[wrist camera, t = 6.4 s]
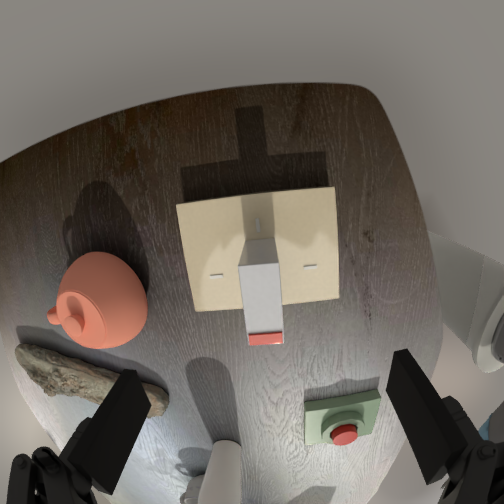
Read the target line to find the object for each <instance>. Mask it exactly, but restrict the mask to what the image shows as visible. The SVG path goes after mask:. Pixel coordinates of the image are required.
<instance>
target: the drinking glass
mask: <svg viewBox="0 0 504 504" xmlns="http://www.w3.org/2000/svg"><path fill="white" fill-rule="evenodd" d="M241 451H242V450H241V447H240V445H239V444H237V443H236V442H233V441H230V440H220V441H217V442H215V443H214V444H213V447H212V452H211V456H210V459H209V462H208V466H207V469H206V472H205V475H204V478H203V481H202V485H201V488H200V492H199V497H198V504H241V498H242V485H241Z"/></svg>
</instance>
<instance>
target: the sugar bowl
mask: <svg viewBox="0 0 504 504" xmlns="http://www.w3.org/2000/svg"><path fill="white" fill-rule="evenodd" d="M147 313H148V304H147V298H146V293H145V291H144V288H143V286H142V284H141V281H140V280H139V278H138V276H137V275H136V274H135V272H134V271H133V270H132V269H131V268H130V267H129V265H127V264H126V263H125V262H124V261H123V260H121V259H120V258H118V257H116V256H114V255H112V254H109V253H105V252H90V253H86V254H84V255H83V256H81V257H79V258H78V259H77V260H75V261H74V262H73V263H72V265H71V266H70V267H69V268H68V269H67V271H66V272H65V274H64V276H63V278H62V281H61V283H60V287H59V291H58V295H57V304H56V306H55V307H53V308H52V309H50V310H49V311H48V312H47V318H48V320H49V322H50V323H51V324H54V325H56V324H61V325H62V327H63V328H64V330H65V331H66V333H67V334H68V335H69V336H70V337H71V338H72V339H73V340H74V341H75V342H77V343H78V344H80V345H82V346H85V347H88V348H95V349H100V348H112V347H117V346H120V345H122V344H125V343H126V342H128V341H130V340H131V339H133V338H134V337H135V336H136V335H137V334H138V333H139V332H140V331H141V330H142V328H143V327H144V325H145V322H146V319H147Z"/></svg>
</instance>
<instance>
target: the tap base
mask: <svg viewBox="0 0 504 504" xmlns="http://www.w3.org/2000/svg"><path fill="white" fill-rule="evenodd" d="M176 208H177V215H178V221H179V227H180V233H181V239H182V245H183V250H184V256H185V261H186V266H187V272H188V277H189V282H190V287H191V291H192V296H193V301H194V305H195V310H196V311H213V310H228V309H241V308H243V303H242V296H241V288H240V280H239V273H238V264H239V260H240V257H241V253H242V250H243V246H244V243H245V241H246V240H257V239H268V238H275V241H276V247H277V253H278V259H279V267H280V280H281V293H282V305H285V304H294V303H303V302H312V301H320V300H328V299H336V298H339V252H338V228H337V211H336V197H335V187H332V186H317V187H305V188H293V189H282V190H272V191H263V192H254V193H245V194H237V195H229V196H221V197H214V198H207V199H200V200H193V201H186V202H182V203H179V204H177V205H176Z"/></svg>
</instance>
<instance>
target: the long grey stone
mask: <svg viewBox="0 0 504 504" xmlns="http://www.w3.org/2000/svg"><path fill="white" fill-rule="evenodd" d="M15 356H16V358H17V361H18V362H19V364H20V365H21V366H22V367H23V368H24V369H25V371H27V374H28V375H29V377H30V379H32V380H33V381H34V382H35V383H36V384H38V385H40V386H41V387H42V389H44V393H47V394H48V396H55V395H56V394H64V395H67V396H79V397H81V398H85V399H87V400H89V401H91V402H94V403H96V404H99V405H101V403H102V402H103V400H104V399H105V397H106V396H107V394H108V392H109V391H110V389H111V388H112V386H113V385H114V383H115V382H116V380H117V379H118V377H119V376H120V374H119V373H115V372H112V371H111V370H109V369H105V368H100V367H97V366H94V365H93V364H87V363H86V362H83V361H82V360H80V359H78V358H76V359H74V358H69V357H66V356H63V355H60V354H58V353H57V352H56V351H52V350H47V349H44V348H41V347H38V346H37V345H29V344H19V345H18V346H17V347H16V349H15ZM141 383H142V386H143V388H144V390H145V392H146V394H147V396H148V399H149V401H150V403H151V405H152V406H151V408H150V411H149V413H148V415H147V418H151V417H155V416H162V415H163V414H164V412H165V411H166V409H167V407H168V404H169V397H168V395H167V394H166V393H165V392H164V390H163V389H161V388H160V387H157V386H155V385H151V384H147V383H143V382H141Z"/></svg>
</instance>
